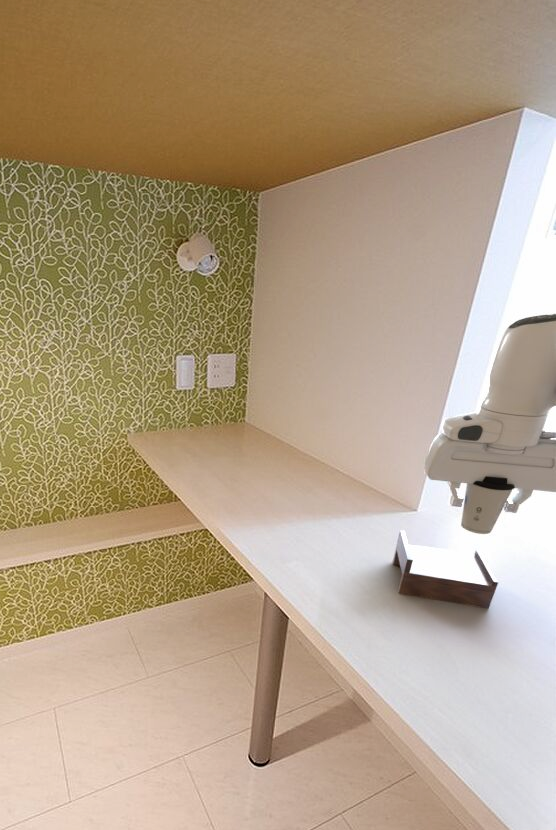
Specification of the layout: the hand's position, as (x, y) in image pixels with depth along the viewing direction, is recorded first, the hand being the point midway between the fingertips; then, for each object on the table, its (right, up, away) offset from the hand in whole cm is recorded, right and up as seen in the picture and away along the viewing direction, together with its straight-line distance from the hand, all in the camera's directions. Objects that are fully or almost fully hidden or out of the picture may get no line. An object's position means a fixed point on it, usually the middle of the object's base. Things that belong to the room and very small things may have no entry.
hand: (481, 508), depth 73 cm
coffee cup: (0, -3, +2) cm, 4 cm away
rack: (+1, -15, +16) cm, 22 cm away
